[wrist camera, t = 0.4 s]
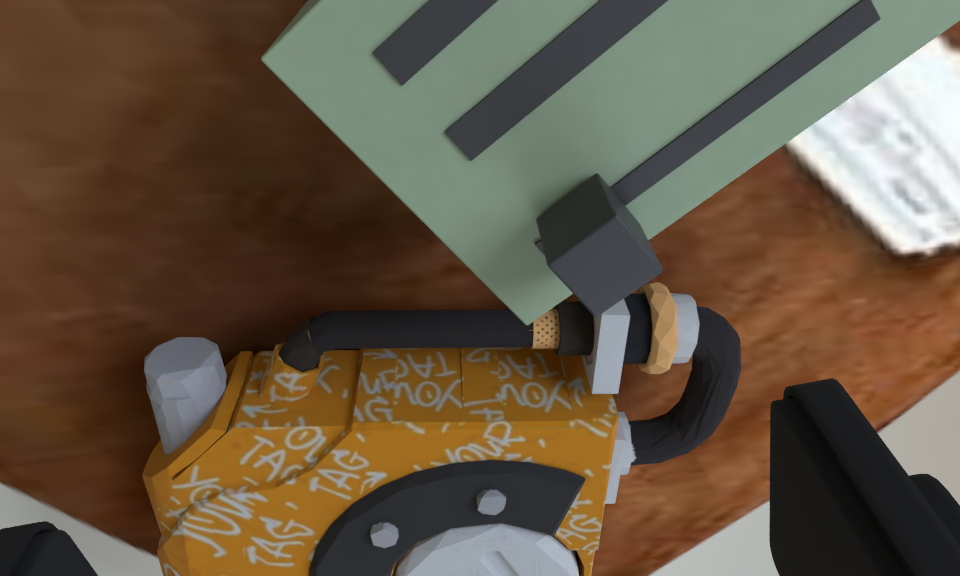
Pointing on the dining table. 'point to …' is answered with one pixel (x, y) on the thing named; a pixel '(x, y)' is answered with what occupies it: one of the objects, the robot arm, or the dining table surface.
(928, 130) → the dining table surface
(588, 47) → the toaster
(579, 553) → the device
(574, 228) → the slider
